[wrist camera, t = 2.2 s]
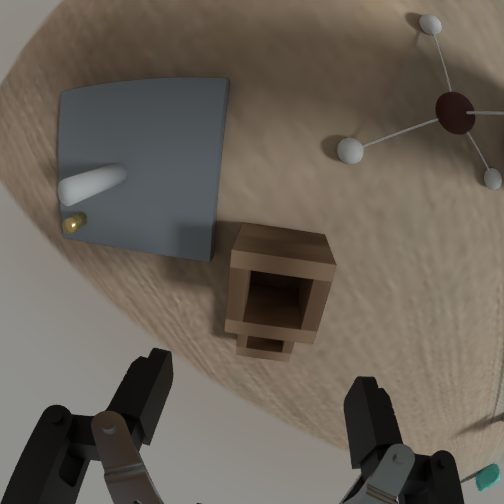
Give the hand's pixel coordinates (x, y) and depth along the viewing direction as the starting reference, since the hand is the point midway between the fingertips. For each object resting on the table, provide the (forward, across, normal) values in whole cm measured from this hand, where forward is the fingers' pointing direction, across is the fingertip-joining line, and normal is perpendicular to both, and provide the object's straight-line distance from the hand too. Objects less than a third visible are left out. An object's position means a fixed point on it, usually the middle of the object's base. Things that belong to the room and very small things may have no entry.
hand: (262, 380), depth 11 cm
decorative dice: (+10, -89, +67) cm, 112 cm away
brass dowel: (+11, +16, -2) cm, 19 cm away
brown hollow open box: (+11, -1, +3) cm, 12 cm away
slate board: (+12, +12, -6) cm, 18 cm away
